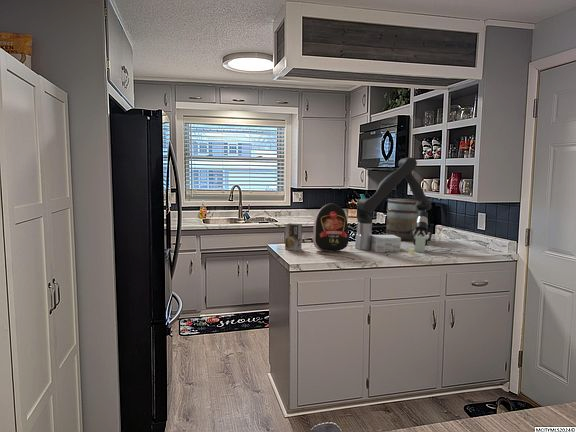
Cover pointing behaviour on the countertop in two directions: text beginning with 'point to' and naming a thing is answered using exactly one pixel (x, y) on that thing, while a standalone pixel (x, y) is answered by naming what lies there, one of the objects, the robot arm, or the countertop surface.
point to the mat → (421, 252)
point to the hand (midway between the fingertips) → (420, 244)
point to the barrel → (401, 218)
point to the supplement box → (385, 243)
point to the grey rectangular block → (420, 243)
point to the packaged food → (330, 228)
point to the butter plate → (411, 253)
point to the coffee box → (293, 236)
